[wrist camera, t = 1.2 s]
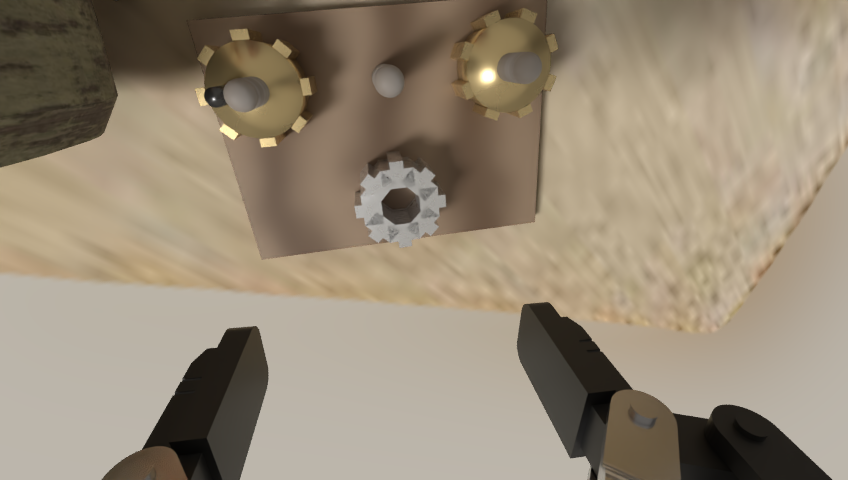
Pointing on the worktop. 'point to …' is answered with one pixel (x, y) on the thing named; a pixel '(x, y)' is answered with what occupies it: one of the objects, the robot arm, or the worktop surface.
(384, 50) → the gear board
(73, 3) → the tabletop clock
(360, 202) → the steel gear
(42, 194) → the worktop surface
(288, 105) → the gear
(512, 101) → the gear
